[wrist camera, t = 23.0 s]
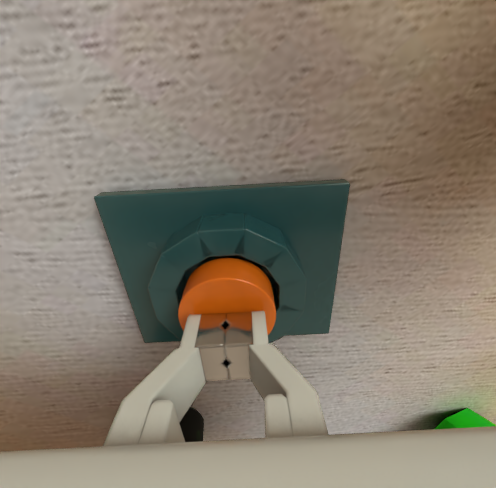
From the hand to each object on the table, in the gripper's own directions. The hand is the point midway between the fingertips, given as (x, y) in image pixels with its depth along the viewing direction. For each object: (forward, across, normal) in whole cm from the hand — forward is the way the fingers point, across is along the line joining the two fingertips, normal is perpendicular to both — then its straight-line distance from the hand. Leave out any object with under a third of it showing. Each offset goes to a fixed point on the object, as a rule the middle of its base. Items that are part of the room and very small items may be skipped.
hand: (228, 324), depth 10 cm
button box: (+4, 0, 0) cm, 4 cm away
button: (+2, 0, 0) cm, 2 cm away
